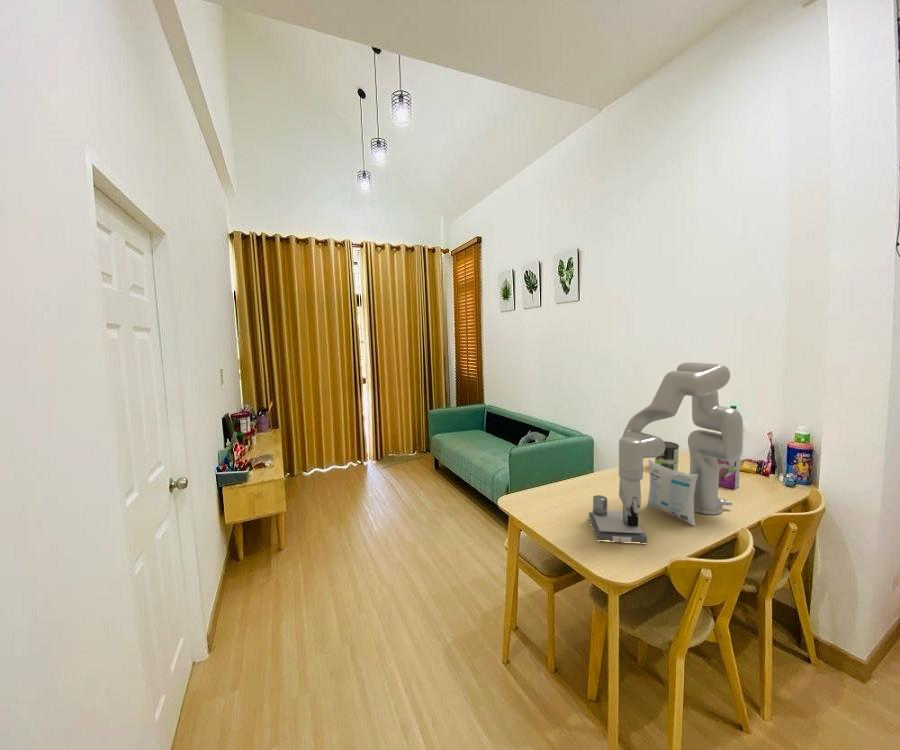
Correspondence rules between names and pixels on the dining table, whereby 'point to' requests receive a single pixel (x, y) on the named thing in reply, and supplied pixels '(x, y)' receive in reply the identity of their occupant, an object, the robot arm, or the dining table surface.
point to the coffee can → (669, 456)
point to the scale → (615, 528)
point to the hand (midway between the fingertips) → (630, 521)
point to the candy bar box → (729, 473)
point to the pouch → (672, 491)
